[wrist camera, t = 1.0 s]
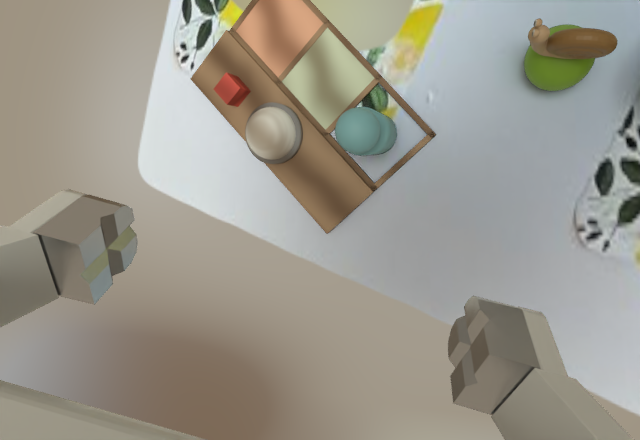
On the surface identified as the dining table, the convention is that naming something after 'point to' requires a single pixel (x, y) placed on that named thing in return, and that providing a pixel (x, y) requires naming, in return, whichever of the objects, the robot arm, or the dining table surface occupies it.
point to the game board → (297, 101)
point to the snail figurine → (564, 54)
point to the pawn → (365, 131)
